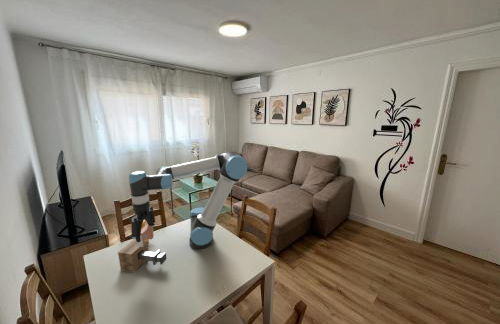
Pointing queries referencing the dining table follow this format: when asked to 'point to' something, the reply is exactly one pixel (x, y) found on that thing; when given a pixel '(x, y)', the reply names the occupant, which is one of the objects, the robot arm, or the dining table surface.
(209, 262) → the dining table surface
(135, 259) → the block
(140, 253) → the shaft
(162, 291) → the dining table surface
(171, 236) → the dining table surface
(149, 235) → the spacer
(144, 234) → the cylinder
